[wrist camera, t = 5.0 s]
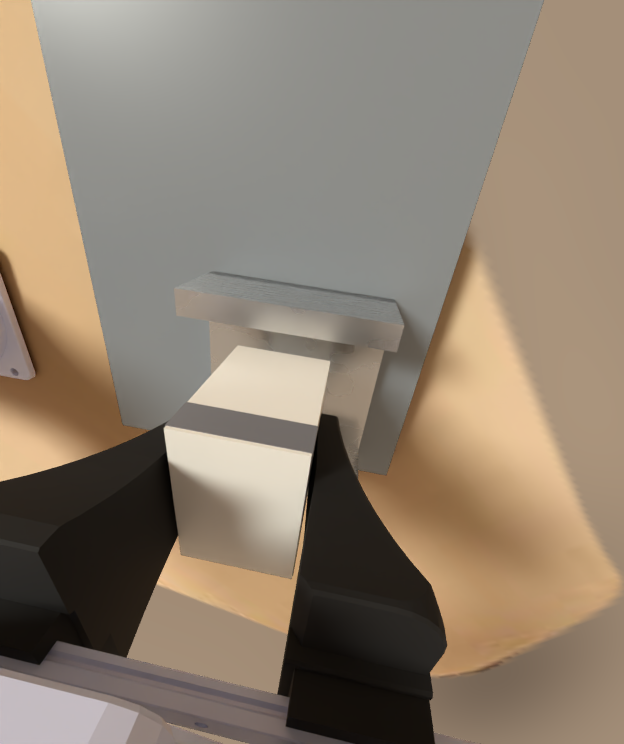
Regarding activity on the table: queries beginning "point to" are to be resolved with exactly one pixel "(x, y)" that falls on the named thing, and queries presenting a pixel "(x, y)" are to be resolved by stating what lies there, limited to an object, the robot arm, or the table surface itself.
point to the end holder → (301, 334)
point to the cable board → (275, 164)
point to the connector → (247, 459)
